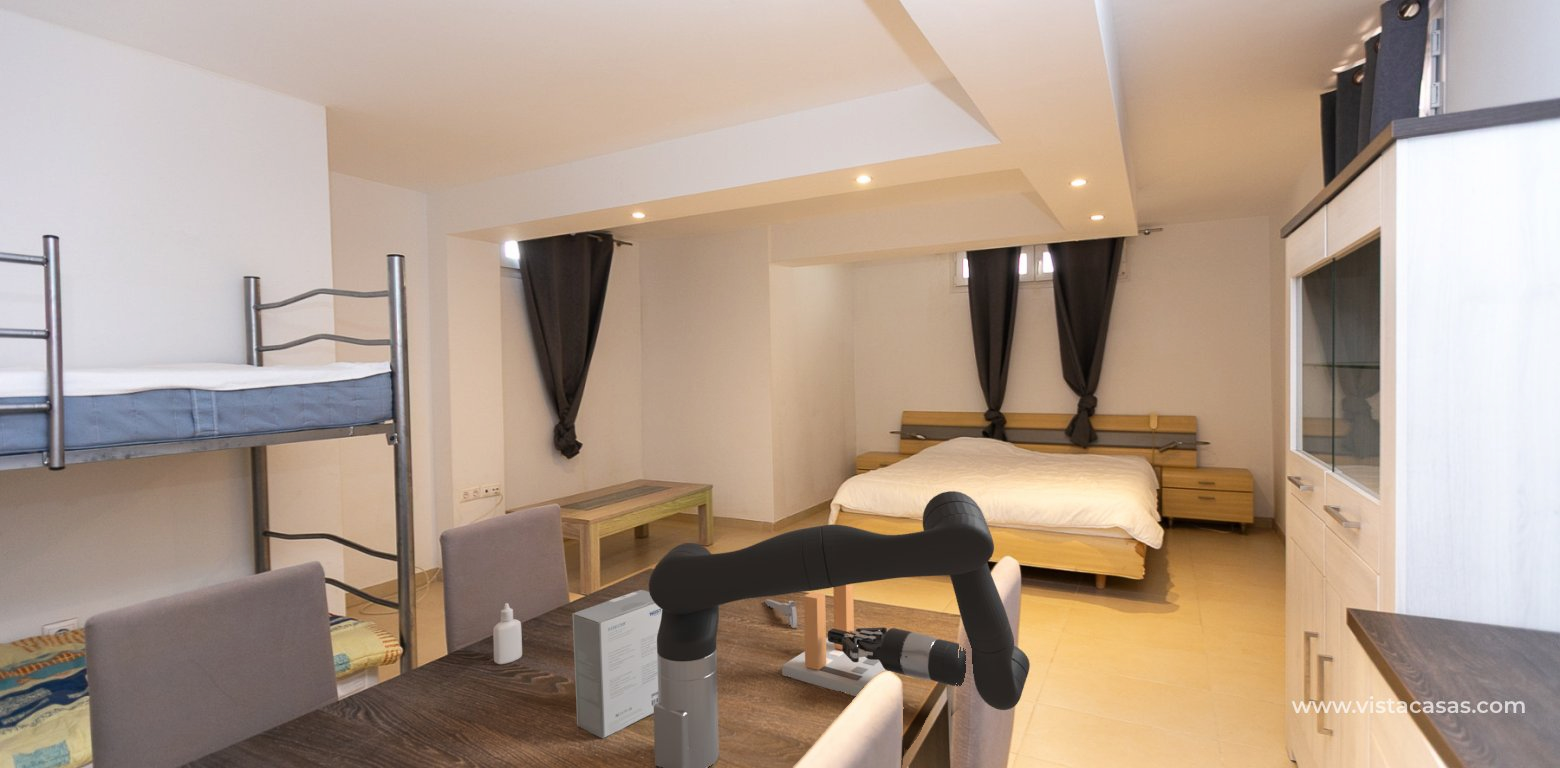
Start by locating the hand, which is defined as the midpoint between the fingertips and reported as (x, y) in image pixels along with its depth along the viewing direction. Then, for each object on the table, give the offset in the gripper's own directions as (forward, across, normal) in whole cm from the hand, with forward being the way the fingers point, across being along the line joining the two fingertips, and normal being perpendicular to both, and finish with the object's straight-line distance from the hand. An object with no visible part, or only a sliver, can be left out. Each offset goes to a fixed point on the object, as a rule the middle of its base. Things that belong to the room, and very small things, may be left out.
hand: (829, 634), depth 139 cm
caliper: (+30, -24, +9) cm, 39 cm away
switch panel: (0, -5, +9) cm, 10 cm away
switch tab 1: (+3, 0, +7) cm, 8 cm away
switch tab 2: (+3, -11, +7) cm, 13 cm away
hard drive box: (+23, +32, +9) cm, 40 cm away
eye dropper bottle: (+62, +28, +9) cm, 69 cm away
